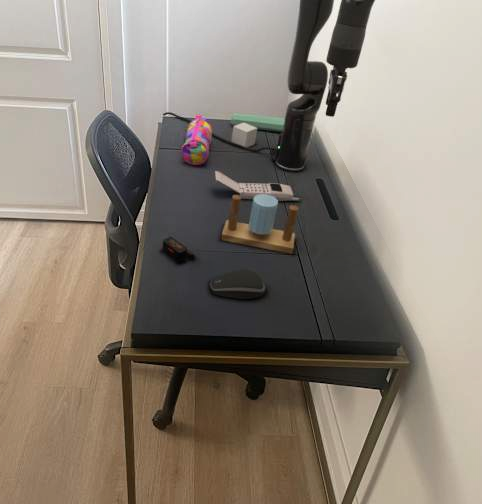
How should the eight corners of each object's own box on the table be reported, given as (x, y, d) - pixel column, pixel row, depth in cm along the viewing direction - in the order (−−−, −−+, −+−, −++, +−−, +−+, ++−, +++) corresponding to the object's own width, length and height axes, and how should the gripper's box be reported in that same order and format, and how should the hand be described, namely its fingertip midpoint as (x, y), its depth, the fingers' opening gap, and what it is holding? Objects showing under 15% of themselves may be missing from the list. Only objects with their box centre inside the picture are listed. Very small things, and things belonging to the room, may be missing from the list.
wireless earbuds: (180, 266, 114) (181, 254, 112) (161, 251, 118) (162, 240, 116) (195, 259, 117) (196, 247, 115) (176, 244, 120) (177, 233, 119)
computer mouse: (208, 278, 111) (210, 264, 109) (262, 280, 113) (265, 266, 110) (211, 298, 106) (213, 284, 103) (267, 300, 107) (270, 286, 105)
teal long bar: (232, 110, 182) (299, 118, 181) (232, 111, 188) (297, 119, 187) (230, 127, 183) (297, 135, 182) (230, 127, 189) (295, 135, 188)
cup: (250, 219, 127) (255, 192, 122) (273, 223, 126) (279, 196, 121) (247, 231, 122) (252, 203, 117) (271, 236, 121) (277, 208, 116)
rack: (221, 240, 124) (226, 202, 118) (225, 225, 130) (231, 188, 123) (292, 254, 122) (301, 216, 116) (293, 238, 128) (302, 202, 121)
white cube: (254, 144, 175) (257, 128, 171) (244, 148, 171) (247, 132, 167) (241, 138, 178) (244, 122, 174) (231, 142, 174) (233, 126, 170)
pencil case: (184, 138, 173) (186, 113, 167) (211, 141, 173) (214, 116, 168) (179, 165, 155) (181, 138, 150) (209, 168, 155) (212, 142, 150)
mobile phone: (214, 170, 142) (299, 175, 144) (212, 188, 146) (295, 193, 148) (215, 180, 137) (303, 185, 140) (213, 198, 141) (299, 203, 143)
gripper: (363, 53, 111) (344, 122, 121) (360, 39, 123) (343, 103, 132) (330, 48, 112) (314, 117, 122) (330, 35, 123) (315, 99, 133)
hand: (329, 110), depth 127 cm, fingers open, 8 cm apart
